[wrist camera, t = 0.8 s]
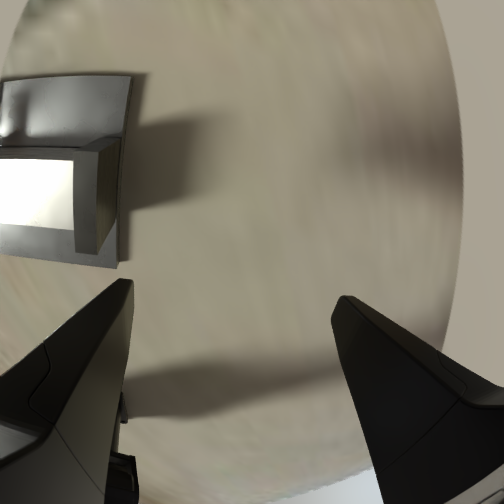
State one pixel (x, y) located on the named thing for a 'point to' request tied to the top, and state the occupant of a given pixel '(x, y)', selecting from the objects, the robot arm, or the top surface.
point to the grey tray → (63, 136)
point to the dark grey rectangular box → (62, 189)
